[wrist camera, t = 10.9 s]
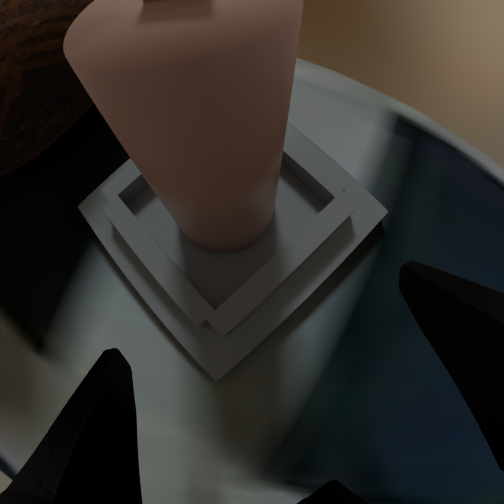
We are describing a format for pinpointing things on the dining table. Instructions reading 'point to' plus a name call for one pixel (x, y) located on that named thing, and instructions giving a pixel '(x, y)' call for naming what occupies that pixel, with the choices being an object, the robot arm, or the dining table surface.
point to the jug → (36, 78)
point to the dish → (234, 264)
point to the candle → (196, 103)
